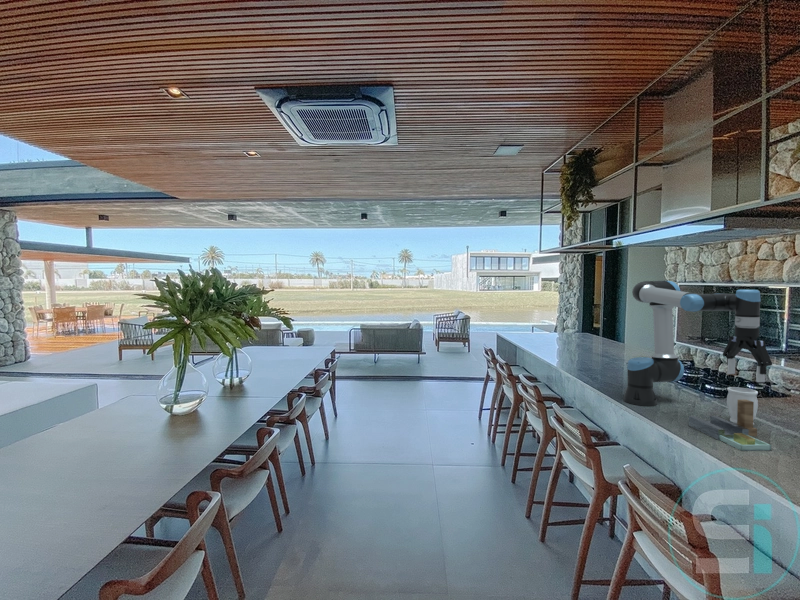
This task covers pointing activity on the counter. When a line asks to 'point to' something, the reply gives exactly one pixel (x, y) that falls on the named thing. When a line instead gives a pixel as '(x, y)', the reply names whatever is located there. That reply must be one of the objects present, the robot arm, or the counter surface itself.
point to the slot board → (717, 427)
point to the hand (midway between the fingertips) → (745, 377)
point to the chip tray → (757, 447)
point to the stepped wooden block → (746, 416)
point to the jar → (740, 394)
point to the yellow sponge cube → (747, 440)
